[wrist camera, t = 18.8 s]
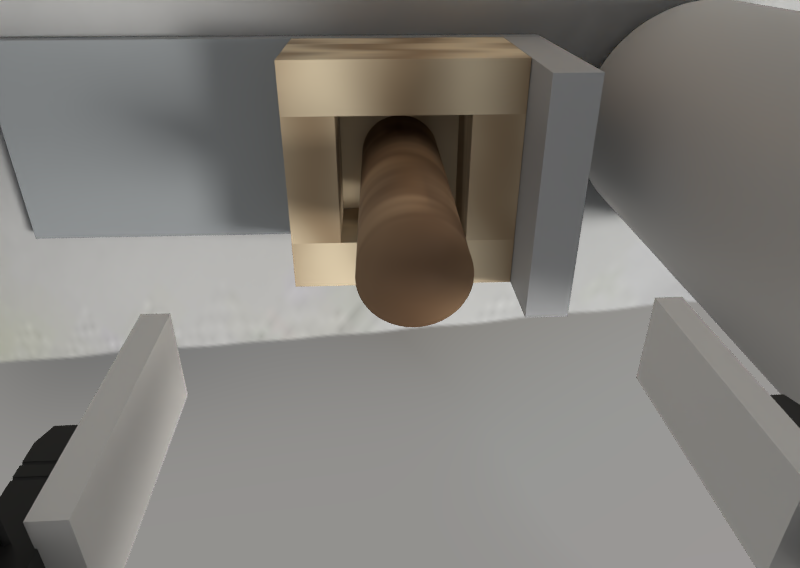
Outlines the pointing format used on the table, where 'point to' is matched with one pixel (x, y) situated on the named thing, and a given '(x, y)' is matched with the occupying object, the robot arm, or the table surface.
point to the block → (397, 96)
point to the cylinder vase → (714, 165)
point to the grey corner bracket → (248, 143)
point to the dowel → (409, 228)
